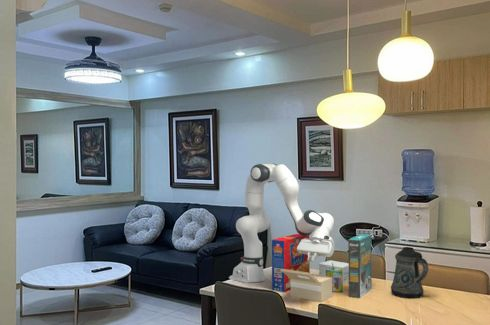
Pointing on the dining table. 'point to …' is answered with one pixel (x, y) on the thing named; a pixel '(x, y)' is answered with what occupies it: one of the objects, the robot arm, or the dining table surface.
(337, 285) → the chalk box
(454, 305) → the dining table surface
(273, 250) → the pasta box
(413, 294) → the beer stein
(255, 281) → the robot arm
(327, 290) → the carton
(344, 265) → the supplement box
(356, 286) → the cake mix box
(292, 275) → the flap
